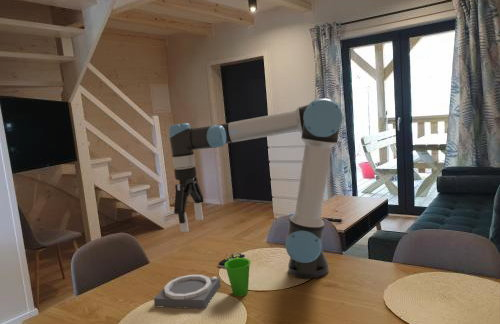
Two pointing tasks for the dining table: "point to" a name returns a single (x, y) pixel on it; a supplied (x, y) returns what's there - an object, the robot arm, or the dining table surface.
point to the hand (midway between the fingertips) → (192, 225)
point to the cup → (238, 275)
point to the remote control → (233, 256)
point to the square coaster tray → (188, 292)
